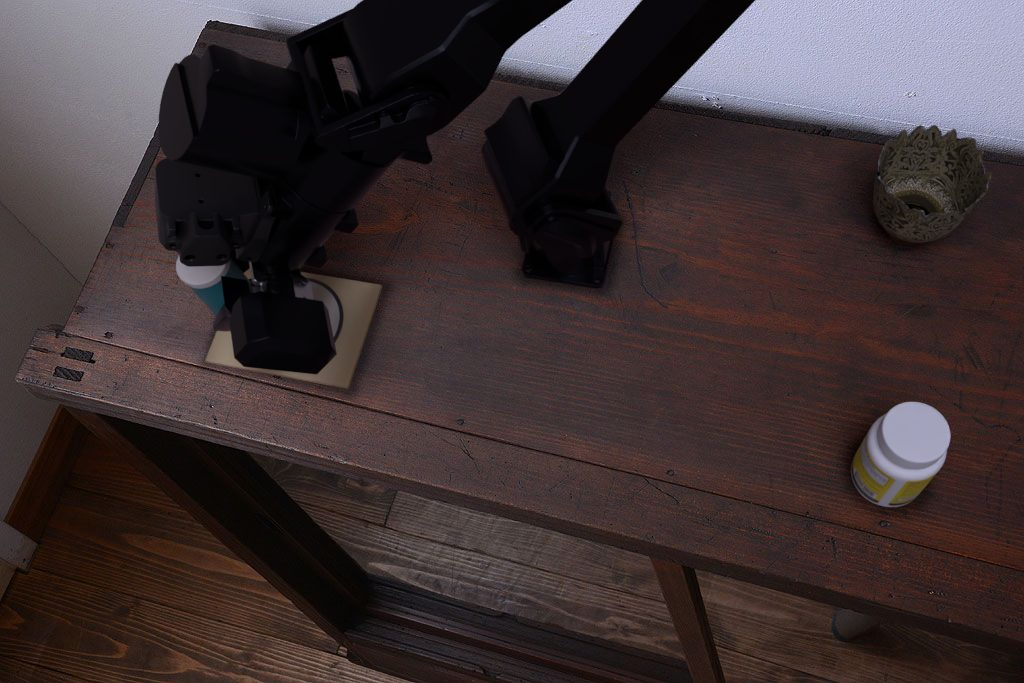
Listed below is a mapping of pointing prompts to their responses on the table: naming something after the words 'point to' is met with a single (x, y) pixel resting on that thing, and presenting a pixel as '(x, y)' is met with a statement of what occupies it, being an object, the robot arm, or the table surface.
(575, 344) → the table surface
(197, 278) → the paint dauber
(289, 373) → the sketch board
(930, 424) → the supplement bottle
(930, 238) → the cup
